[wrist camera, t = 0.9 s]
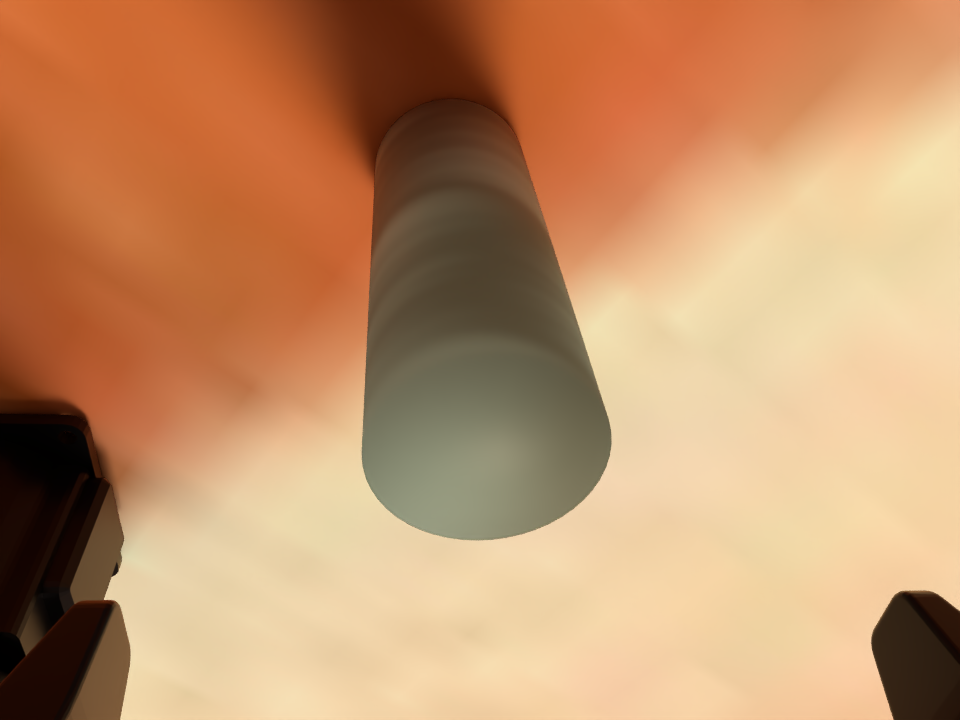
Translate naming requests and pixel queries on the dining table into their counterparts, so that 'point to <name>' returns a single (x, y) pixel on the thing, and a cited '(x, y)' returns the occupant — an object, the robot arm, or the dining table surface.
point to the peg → (472, 338)
